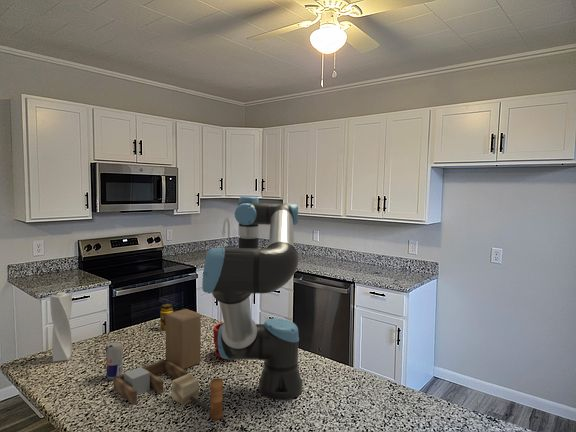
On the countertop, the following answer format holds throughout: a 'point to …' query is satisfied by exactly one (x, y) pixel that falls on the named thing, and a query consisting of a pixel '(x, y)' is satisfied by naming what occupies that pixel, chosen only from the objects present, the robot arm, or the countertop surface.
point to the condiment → (164, 310)
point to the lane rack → (154, 380)
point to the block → (138, 379)
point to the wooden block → (183, 338)
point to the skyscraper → (61, 326)
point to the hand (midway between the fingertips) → (247, 292)
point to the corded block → (188, 391)
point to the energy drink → (114, 360)
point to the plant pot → (216, 338)
